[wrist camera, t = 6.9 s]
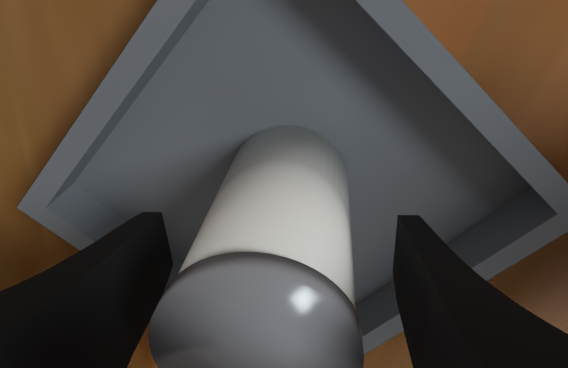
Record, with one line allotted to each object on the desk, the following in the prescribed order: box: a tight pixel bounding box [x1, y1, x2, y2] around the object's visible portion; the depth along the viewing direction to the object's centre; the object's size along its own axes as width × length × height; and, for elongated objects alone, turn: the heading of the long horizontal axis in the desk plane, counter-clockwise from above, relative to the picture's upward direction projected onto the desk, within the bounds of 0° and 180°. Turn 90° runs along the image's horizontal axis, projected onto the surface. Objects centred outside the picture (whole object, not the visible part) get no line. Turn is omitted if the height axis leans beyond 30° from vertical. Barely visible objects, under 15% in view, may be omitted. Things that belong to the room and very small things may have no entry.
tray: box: [17, 0, 568, 354], centre depth 15 cm, size 14×14×2 cm
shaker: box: [148, 125, 364, 368], centre depth 12 cm, size 5×5×8 cm
